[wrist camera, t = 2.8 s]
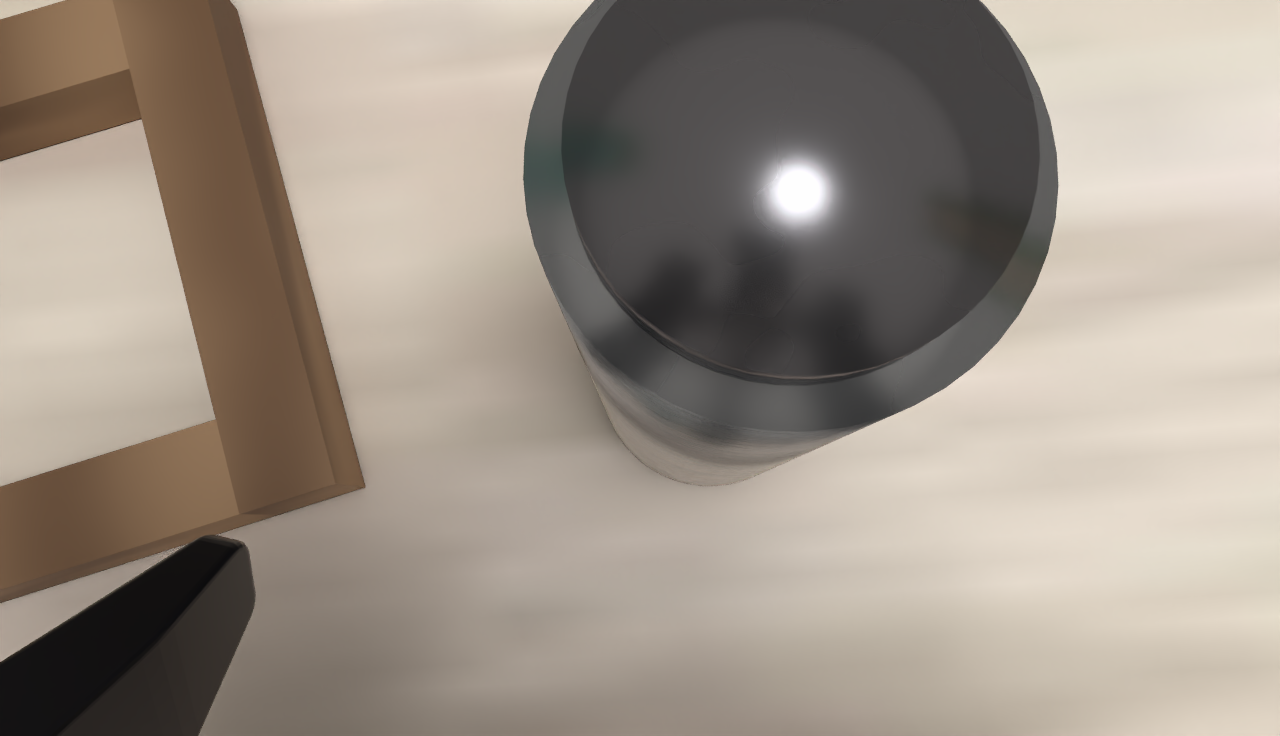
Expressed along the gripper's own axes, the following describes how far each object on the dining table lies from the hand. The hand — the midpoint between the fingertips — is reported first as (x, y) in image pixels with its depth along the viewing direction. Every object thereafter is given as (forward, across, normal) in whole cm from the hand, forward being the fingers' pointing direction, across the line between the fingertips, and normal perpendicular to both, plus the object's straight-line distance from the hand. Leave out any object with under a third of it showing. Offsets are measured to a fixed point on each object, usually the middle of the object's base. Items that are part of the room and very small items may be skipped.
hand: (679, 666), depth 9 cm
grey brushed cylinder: (+11, 0, +5) cm, 12 cm away
